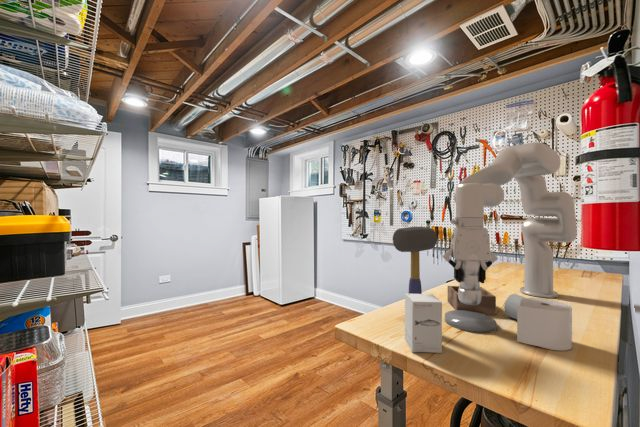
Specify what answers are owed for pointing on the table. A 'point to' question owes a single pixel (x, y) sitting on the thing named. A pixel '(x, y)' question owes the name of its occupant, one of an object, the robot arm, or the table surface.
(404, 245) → the rubber mallet
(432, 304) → the supplement box
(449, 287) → the holder
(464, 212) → the robot arm
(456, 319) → the plate
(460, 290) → the plastic bottle
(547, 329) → the toilet tissue
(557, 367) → the table surface
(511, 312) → the ceramic mug
